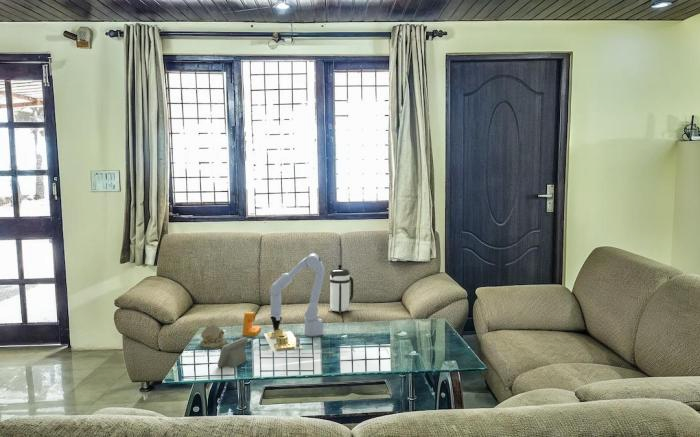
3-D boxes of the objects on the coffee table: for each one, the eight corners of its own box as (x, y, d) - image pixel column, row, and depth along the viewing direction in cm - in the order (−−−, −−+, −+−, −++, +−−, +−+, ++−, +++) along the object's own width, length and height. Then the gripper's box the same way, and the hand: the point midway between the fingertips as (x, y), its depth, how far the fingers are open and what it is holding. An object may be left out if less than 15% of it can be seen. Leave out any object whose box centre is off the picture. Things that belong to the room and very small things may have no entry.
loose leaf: (284, 332, 280) (284, 325, 279) (287, 336, 273) (287, 329, 272) (267, 333, 277) (267, 326, 277) (270, 338, 270) (270, 330, 269)
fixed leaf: (289, 340, 267) (289, 334, 266) (294, 348, 255) (294, 341, 255) (272, 342, 264) (272, 335, 264) (276, 350, 252) (276, 343, 252)
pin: (299, 344, 261) (299, 333, 260) (300, 346, 258) (300, 334, 258) (294, 345, 260) (294, 333, 259) (295, 346, 258) (296, 335, 257)
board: (291, 332, 282) (291, 331, 282) (302, 349, 256) (302, 348, 256) (263, 335, 278) (263, 333, 278) (272, 352, 251) (272, 351, 251)
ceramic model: (195, 345, 261) (195, 326, 260) (208, 339, 271) (207, 320, 270) (219, 349, 256) (219, 329, 255) (231, 342, 267) (231, 323, 266)
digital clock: (241, 356, 247) (241, 334, 246) (253, 361, 241) (253, 338, 240) (212, 365, 234) (212, 343, 233) (224, 371, 229) (224, 347, 228)
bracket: (256, 337, 274) (255, 315, 273) (242, 336, 275) (242, 314, 274) (261, 331, 285) (261, 309, 284) (248, 330, 286) (248, 309, 284)
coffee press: (353, 315, 317) (353, 266, 314) (327, 314, 317) (327, 266, 314) (353, 307, 334) (353, 261, 331) (328, 307, 334) (328, 261, 331)
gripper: (266, 302, 282) (266, 326, 284) (270, 309, 269) (270, 334, 270) (279, 301, 285) (279, 325, 286) (284, 308, 271) (284, 333, 272)
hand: (276, 329), depth 278 cm, fingers closed
